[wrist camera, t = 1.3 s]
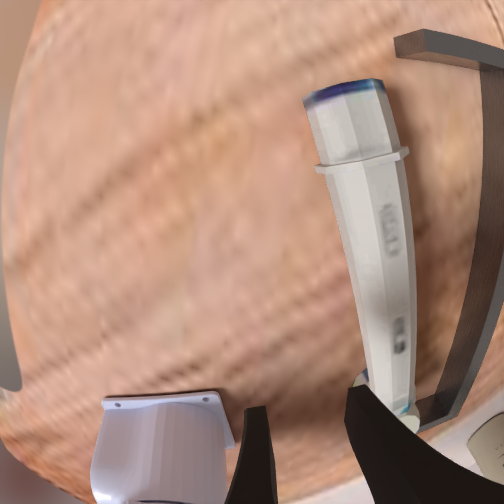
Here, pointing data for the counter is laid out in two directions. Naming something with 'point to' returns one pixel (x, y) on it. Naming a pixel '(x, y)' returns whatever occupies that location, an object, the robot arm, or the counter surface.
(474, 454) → the travel mug
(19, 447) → the counter surface
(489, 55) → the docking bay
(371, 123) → the white handheld device
